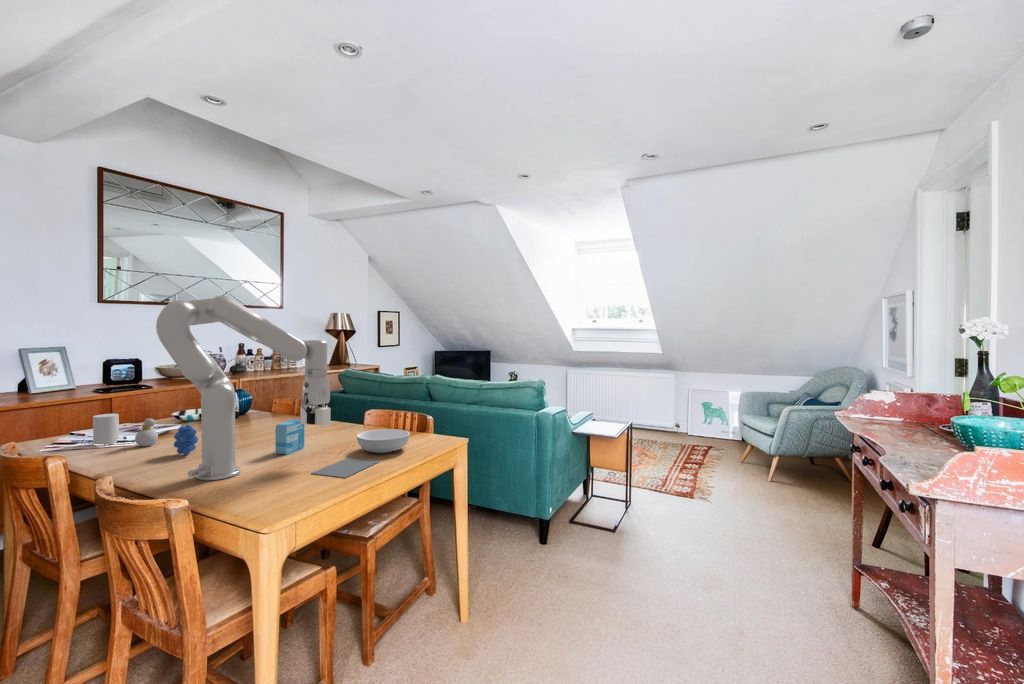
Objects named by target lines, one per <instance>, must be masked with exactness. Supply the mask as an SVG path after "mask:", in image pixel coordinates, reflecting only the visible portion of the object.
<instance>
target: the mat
mask: <svg viewBox="0 0 1024 684" xmlns="http://www.w3.org/2000/svg"><path fill="white" fill-rule="evenodd" d="M380 462H381V461H380V460H373V459H372V460H371V459H363V458H362V459H361V458H353V457H346V458H344V459H341V460H339V461H337V462H335V463H331V464H329V465H327V466H324V467H322V468H320V469H319V468H318V469H317V470H315V471H312V472H311V473H310V475H317V476H324V477H332V478H341V479H348V478H349V477H352V476H354V475H356V474H358V473H361V472H363V471H364V470H366V469H368V468H370V467H373V466H374V465H377V464H378V463H380Z"/></svg>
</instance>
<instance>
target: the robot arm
mask: <svg viewBox="0 0 1024 684" xmlns="http://www.w3.org/2000/svg"><path fill="white" fill-rule="evenodd" d="M155 323H156V325H155V329H156V334H157V337H158V340H159V341H160V342H161V345H162V346H163V347H164V349H165V350H166V351H167V354H168V355H169V356H170V357H171V359H172V360H173V362H174V363H175V364H176V366H177V367H178V369H179V370H180V372H181V373H182V375H183V376H184V378H185V379H187V380H189V381H190V382H191V383H192V384H193V386H194V387H195V388H196V389H197V391H198V392H199V394H200V411H201V414H200V415H201V417H200V418H201V463H199V464H198V467H196V469H192V470H188V471H187V476H188V477H189V478H192V477H194V476H196V479H198V480H200V481H216V480H217V481H218V480H223V479H224V480H225V479H230V478H232V477H235V476H237V475H239V474H240V473H241V471H242V470H241V467H239V466H236V391H235V387H234V385H233V383H232V381H230V379H229V378H228V376H227V375H226V374H225V372H224V371H223V370H222V368H221V367H220V365H219V364H218V363H217V361H216V360H215V358H213V356H211V355H210V354H208V353H207V352H206V350H204V349H203V348H202V346H201V345H200V343H199V342H198V340H197V339H196V338H195V336H194V335H193V333H192V332H191V328H190V327H191V326H198V325H205V324H214V323H221V324H223V325H225V326H226V327H228V328H229V329H231V330H234V331H235V332H238V333H239V334H241V335H242V336H244V337H246V338H247V339H250V340H251V341H253V342H256V343H258V344H261V345H263V346H265V347H266V348H267V349H270V350H272V351H274V352H276V353H278V354H279V355H281V356H283V357H284V358H286V359H288V360H289V361H292V362H297V361H298V362H299V361H301V360H303V359H304V378H303V382H302V383H303V385H302V392H301V395H302V397H301V399H302V400H301V401H302V402H301V404H300V408H301V407H302V408H303V409H304V410H305V412H306V413H307V424H306V425H308V424H315V413H314V408H315V407H326V408H327V405H328V404H329V403H330V401H331V387H330V379H329V376H328V341H326V340H324V339H309V340H301V339H300V338H297V337H295V336H294V335H292V334H290V333H289V332H287V331H285V330H283V328H280V327H278V326H277V325H275V324H274V323H272V322H271V321H269V320H268V319H267V318H265V317H263V316H262V315H260V314H258V313H256V312H255V311H253V310H252V309H250V308H247V307H246V306H244V305H243V304H241V303H240V302H238V301H236V300H234V299H233V298H231V297H229V296H225V295H217V296H214V297H212V298H204V299H202V298H201V299H195V300H194V299H193V300H184V299H176V300H172V301H170V302H168V304H166V305H165V306H164V307H163V308H162V310H161V311H160V313H159V314H158V316H157V319H156V322H155ZM310 406H311V408H310Z"/></svg>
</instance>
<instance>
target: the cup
mask: <svg viewBox="0 0 1024 684" xmlns="http://www.w3.org/2000/svg"><path fill="white" fill-rule="evenodd" d="M119 416H120V415H119V413H103V414H96V415H93V416H92V439H93V440H92V441H93V442H92V444H93V443H94V444H104V445H106V444H113V443H116V442H117V439H118V438H119V439H120V420H119V419H120V417H119Z"/></svg>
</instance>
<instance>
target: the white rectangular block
mask: <svg viewBox="0 0 1024 684" xmlns="http://www.w3.org/2000/svg"><path fill="white" fill-rule="evenodd" d="M310 408H311V406H310ZM331 411H332V409H331V407H327V406H326V407H317V406H315V408H314V413H315V424H307V413H306V412H305V410H304V409H303V408H302V407H301V406H300V419H299V420H300V424H304V425H309V426H321V427H324V426H325V427H326V426H329V425H331V417H332V416H331Z"/></svg>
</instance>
